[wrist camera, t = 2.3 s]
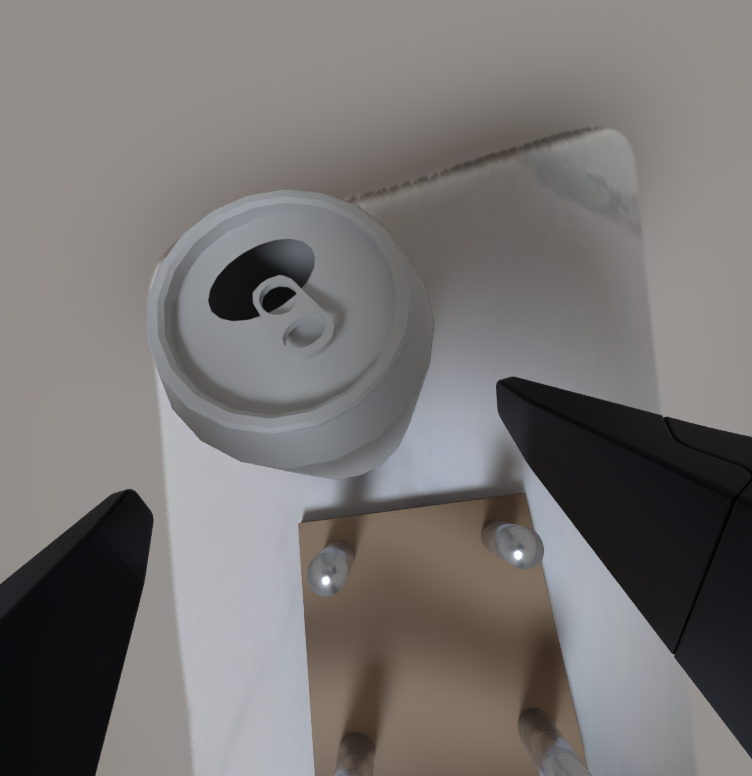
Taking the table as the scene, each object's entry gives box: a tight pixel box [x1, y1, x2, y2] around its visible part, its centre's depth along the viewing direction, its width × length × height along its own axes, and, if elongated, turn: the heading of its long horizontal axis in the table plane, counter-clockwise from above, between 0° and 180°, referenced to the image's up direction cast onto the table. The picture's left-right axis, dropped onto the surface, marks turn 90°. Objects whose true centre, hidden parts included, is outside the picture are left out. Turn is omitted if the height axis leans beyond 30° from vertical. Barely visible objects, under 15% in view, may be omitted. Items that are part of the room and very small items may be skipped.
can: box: [147, 189, 434, 480], centre depth 14 cm, size 8×8×12 cm
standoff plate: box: [298, 493, 592, 776], centre depth 15 cm, size 11×11×4 cm
